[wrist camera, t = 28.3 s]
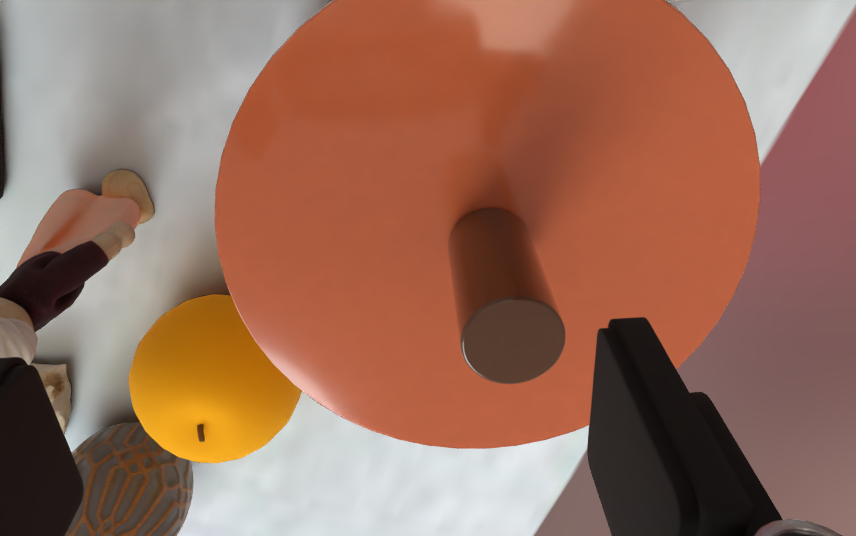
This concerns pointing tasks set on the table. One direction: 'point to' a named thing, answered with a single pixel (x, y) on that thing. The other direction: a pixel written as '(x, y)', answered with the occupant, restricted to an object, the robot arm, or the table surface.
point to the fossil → (57, 390)
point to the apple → (208, 384)
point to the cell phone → (1, 161)
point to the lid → (482, 206)
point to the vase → (130, 485)
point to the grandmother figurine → (68, 256)
